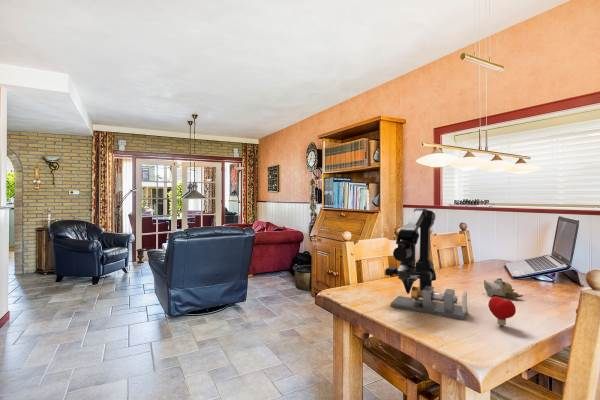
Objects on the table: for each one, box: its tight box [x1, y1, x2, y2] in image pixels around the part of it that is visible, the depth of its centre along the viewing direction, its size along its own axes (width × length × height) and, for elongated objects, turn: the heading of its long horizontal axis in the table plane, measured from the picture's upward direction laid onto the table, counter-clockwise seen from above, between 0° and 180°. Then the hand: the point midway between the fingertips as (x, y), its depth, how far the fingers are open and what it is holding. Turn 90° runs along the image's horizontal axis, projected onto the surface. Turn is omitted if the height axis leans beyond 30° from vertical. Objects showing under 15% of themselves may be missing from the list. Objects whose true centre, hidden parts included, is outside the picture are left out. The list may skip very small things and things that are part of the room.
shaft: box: [410, 285, 458, 305], centre depth 134 cm, size 6×17×6 cm, turn 58°
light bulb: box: [487, 296, 517, 327], centre depth 118 cm, size 9×7×10 cm
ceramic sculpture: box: [483, 278, 524, 299], centre depth 153 cm, size 11×9×15 cm
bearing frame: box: [390, 286, 468, 321], centre depth 136 cm, size 12×28×8 cm, turn 58°
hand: (408, 293), depth 140 cm, fingers closed
